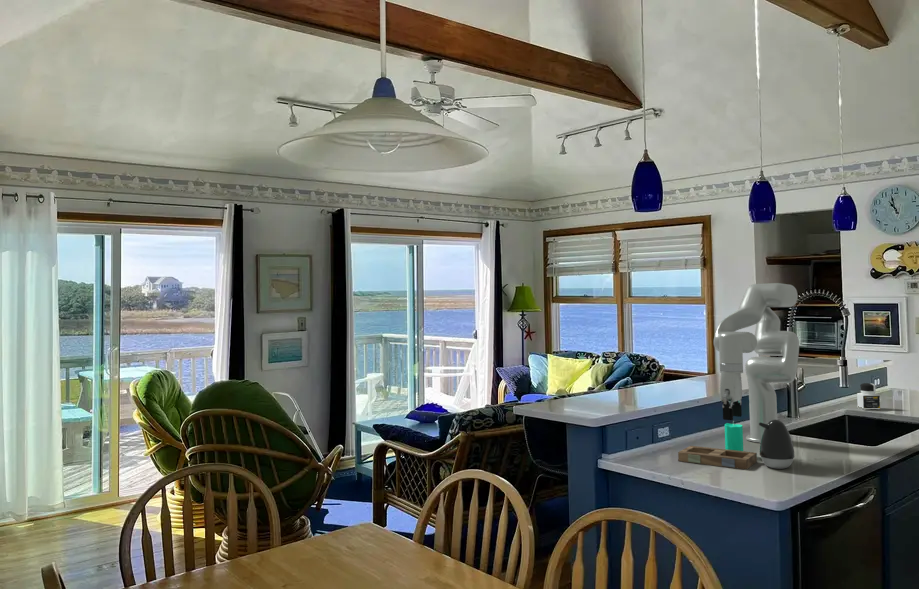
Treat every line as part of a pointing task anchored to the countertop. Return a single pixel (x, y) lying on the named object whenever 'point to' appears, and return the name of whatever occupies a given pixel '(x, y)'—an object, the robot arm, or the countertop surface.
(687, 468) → the countertop surface
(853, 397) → the countertop surface
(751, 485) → the countertop surface
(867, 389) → the medicine bottle
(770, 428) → the pump dispenser
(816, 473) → the countertop surface
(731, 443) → the candle
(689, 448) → the socket block
